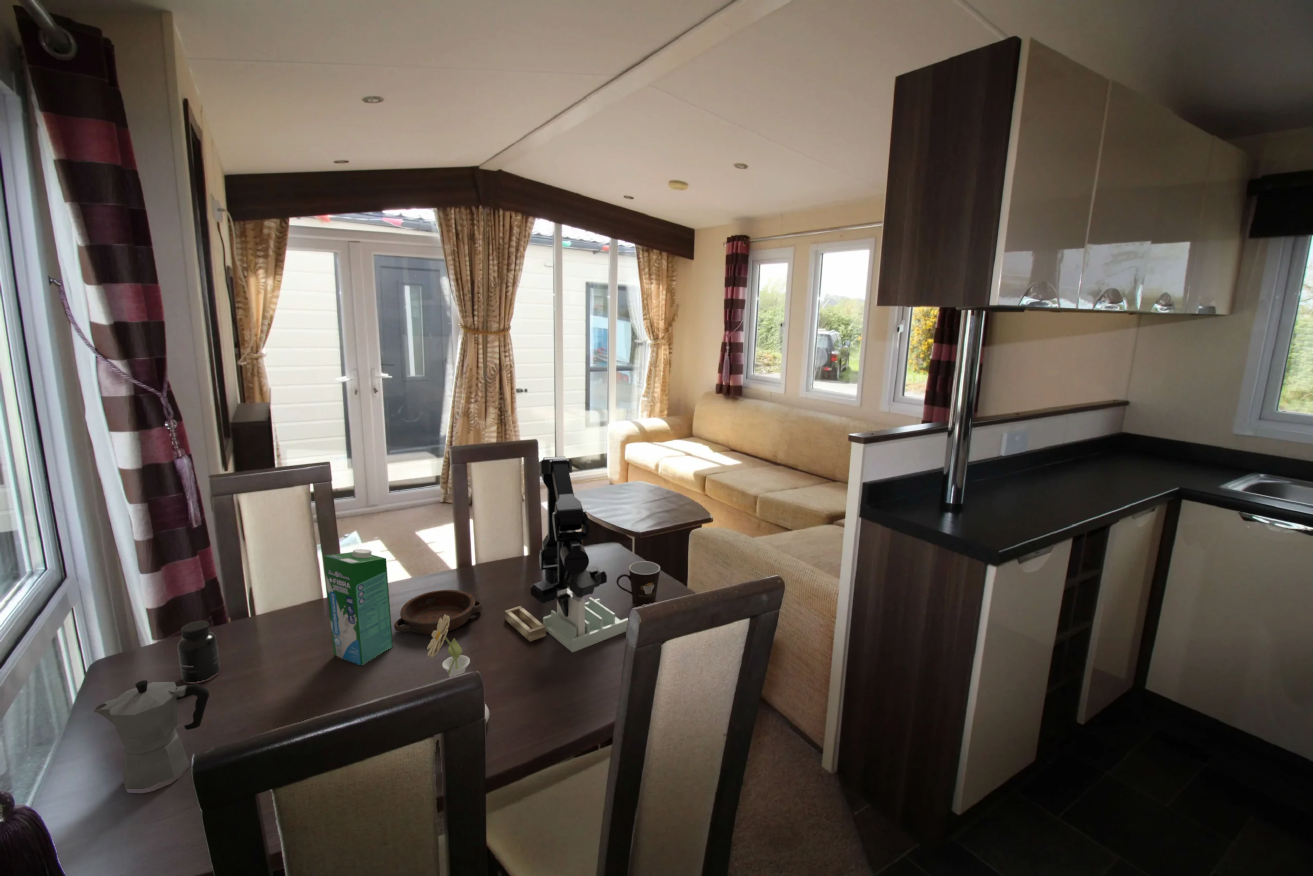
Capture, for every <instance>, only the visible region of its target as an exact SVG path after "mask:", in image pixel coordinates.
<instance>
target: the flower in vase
mask: <svg viewBox="0 0 1313 876" xmlns="http://www.w3.org/2000/svg"><path fill="white" fill-rule="evenodd" d="M449 622H450V619H449V616H446V615H444V616H443V620H442V619H441V618H440V619H439V621H438V625H437V631H433V632H432V634H431V637H432V639H431V640H430V641H429V643H428V645H427V648H426V649H427V650H428V652H427V656H428V657H431V658H433V657H435V656H436V655H437V653H439V651H440V649H441V648H442V646H443V645H444V641H446V642H447V644H448V645H449V646H448V648H447V653H448V654H449V655H450V657H448V658H446V659H445V660H444V661H442V663H441V665H442V668H443V669H444V670H445V671H446V672H447V674H448V676H449V677H448V678H450V677H452V676H456V675H459V674H462V673H464V674H465V672H466V670H467V668H468V666H469V664H470V663H471V659H470V657H468V656H467V655H463V654H462V653H463V649H462V648H461V646H460V644H459V643H458V641H457V640H456V638H453V639H452V640H451V641H450V640H449V638H448V637H447V634H448V632H449V631H448V627H449ZM489 718H490V710H489V708H488V705H487V704H486V703H485V719H486V723H487V722H488V720H489Z"/></svg>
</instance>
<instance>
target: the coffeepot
mask: <svg viewBox="0 0 1313 876" xmlns="http://www.w3.org/2000/svg"><path fill="white" fill-rule="evenodd" d="M134 685H135V687H134V688H131V689H128V690H126V691H124V692H123V693H122V694H120V695H119V696H118V697H116V698H114V699H110V700H107V701H105V702H103V703H101V704H98V705H97V706H96V707H95V709H94V710H93V713H98V714H99V715H100V716H103V717H104V718H105V719H107V720H108V721H109V722H111V723H112V724H113V725H114V726H115V728H116V731H117V733H118V735H119V739H120V740H121V742H122V745H123V746H124V747H125V748H124V756H123V757H124V761H123V779H124V782H123V784H124V783H125V785H124V787H125V786H126V789H145V788H149V787H151V786H153V785H155V784H157V783H159V782H164V781H166V780H169V779H171V778H174V777H175V776H176V775H177V774H179V773H181V772H182V771H183V769H184V768H185V767H186V765H187V768H188V769H189V767H191V763H190V761H189V759H188V757H187V754H186V751H185V750H184V747H183V743H182V741H181V739H180V737H179V734H178V732H177V730H176V728H177V726H178V714H179V709H178V707H179V700H181V699H187V698H188V697H191V696H195V697H196V700H195V704H194V705H195V706H194V707H195V709H194V712H193V714H192V722H191V723H188V724H184V729H185V730H187V731H188V730H194V729H197V728H199V727H200V726H201V724H202V721H203V717H204V714H205V711H206V707H207V703H208V699H209V697H210V692H209V690H208V689H207V688H206V687H203V686H202V685H199V684H187V685H180V686H177V685H176V682H175V681H153V682H150V683H149V681H148V679H147V680H145V679H144V680H139V681H137V682H136V683H135V684H134ZM123 779H122V780H123ZM126 789H125V790H126Z"/></svg>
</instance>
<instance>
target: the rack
mask: <svg viewBox="0 0 1313 876" xmlns="http://www.w3.org/2000/svg"><path fill="white" fill-rule="evenodd" d="M542 617H543V616H542ZM627 623H628V617H626V618H624V619H619V618H618V617H617V616H616V613H615V612H613V611H612V610H610V609H609V608H608V607H606V606H604V605H603V604H601V599H600V598H595V599H594V598H593V597H588V601H585V634H584V635H582V636H579V637H577V629H576V627H575V626H573V625H572V624H571V623H569V622H568V621H567V620H565V619H564V618H563V617H562V616H560V615H559V614H558V613H557V611H555V610H554V609H553V610H552V609H551V611H550V614H549V615H546V616H544V617H543V618H542V624H543V625H544V626H545V627H546V633H549V634H550V635H551V636H552V637H553V638H554V639H556V641H558V642H559V643H560V644H562V645H563V646H564V647H565V648H566V649H567V650H569V651H570V652H571V653H575V652H577V651H580V650H582V649H586V648H587V647H590V646H592V645H595V644H597V643H599V642H604V641H605V640H607V639H610V638H613V637H615V636H617V635H620V634H623V633H626V632H627V631H626V627H627Z"/></svg>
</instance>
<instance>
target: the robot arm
mask: <svg viewBox="0 0 1313 876" xmlns="http://www.w3.org/2000/svg"><path fill="white" fill-rule="evenodd" d="M538 470H539V475H541V480H542V482H543V483H544V486H545V487H546V488H547V490H546V492H547V493H546V495H547V499H546V500H547V501H546V503H547V534H546V536H545V537H544V539H543V540H542V542H541V544H542V545H541V549H539V554H538V555H539V556H538V563H539V567H540V568H539V569H540V571H544V580H542V581H538V582H535V583H533V584H531V586H530V596H532V597H533V598H534V599H536V600H537V601H538V602H540V603H541V604H545V603H550V602H551V601H554V600H555V599H556V602H557V601H558V603H559V605H560V607H561V609H562V611H563V614H564V616H566V617H568V599H569V597H570V595H569V594H567V588H568V589H569V590H571V591H572V592H574V593H575V595H576V596H577V597H579V598H582V599H583V597H584V596H588V595H592V594H594V591H595V588H598V587H600V585H603V584H606V583H607V582H608V575H607V572H606V571H605V570H603V569H601V568H599V567H598V566H596V565H592V566H589V565H590V564H589V563H590V559H589V555H588V553H587V551H586V549H585V547H584V544H583V540H588V539H590V538H589V534H590V532H591V529H590V523H589V516H588V514H587V512H586V510H585V509H583V506H582V502H581V501H580V500H579V499H578V498H576V496H575V493H574V490H573V485H572V480H571V473H573V460H572V459H569V458H567V457H566V455H565V456H564V455H563V456H548V457H547V456H546V457H543V459H541V460H539V462H538ZM582 529H583V531H582Z"/></svg>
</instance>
